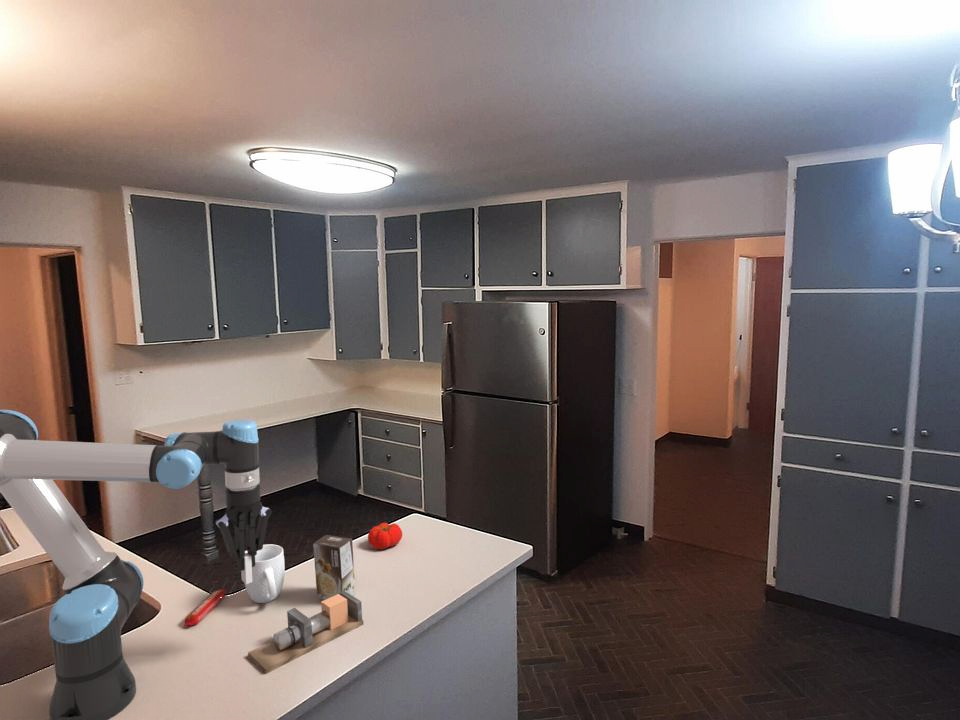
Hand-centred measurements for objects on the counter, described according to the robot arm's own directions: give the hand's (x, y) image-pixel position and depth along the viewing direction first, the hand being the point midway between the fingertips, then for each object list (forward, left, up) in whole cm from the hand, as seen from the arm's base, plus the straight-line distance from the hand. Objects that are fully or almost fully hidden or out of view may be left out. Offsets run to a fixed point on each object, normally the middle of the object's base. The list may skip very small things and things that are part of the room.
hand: (247, 580), depth 141 cm
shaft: (+9, -9, -15) cm, 20 cm away
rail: (+10, -9, -16) cm, 21 cm away
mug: (+12, +17, -16) cm, 26 cm away
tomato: (+55, +20, -16) cm, 60 cm away
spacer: (+18, -10, -15) cm, 25 cm away
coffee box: (+26, +4, -16) cm, 31 cm away
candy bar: (-2, +23, -16) cm, 28 cm away
